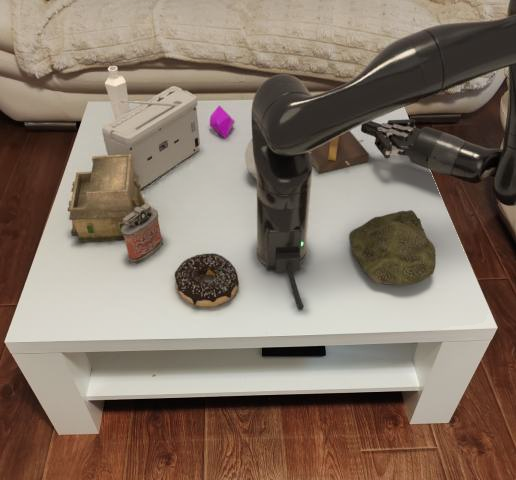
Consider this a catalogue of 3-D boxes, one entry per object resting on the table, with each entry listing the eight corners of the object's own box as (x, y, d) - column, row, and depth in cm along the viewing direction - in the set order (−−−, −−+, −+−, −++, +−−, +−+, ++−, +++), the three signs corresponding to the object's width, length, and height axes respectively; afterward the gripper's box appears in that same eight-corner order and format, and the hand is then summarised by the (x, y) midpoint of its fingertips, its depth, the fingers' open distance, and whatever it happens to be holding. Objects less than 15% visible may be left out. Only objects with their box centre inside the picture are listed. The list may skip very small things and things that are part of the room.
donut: (209, 255, 108) (208, 240, 105) (252, 288, 103) (251, 272, 100) (164, 285, 104) (161, 270, 101) (206, 320, 99) (204, 305, 95)
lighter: (155, 236, 112) (146, 195, 104) (167, 243, 110) (159, 202, 102) (124, 258, 108) (113, 217, 100) (137, 266, 107) (126, 225, 99)
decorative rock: (353, 299, 103) (355, 263, 95) (347, 236, 112) (348, 198, 104) (437, 294, 102) (446, 257, 94) (424, 231, 111) (431, 191, 102)
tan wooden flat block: (335, 160, 123) (339, 130, 117) (328, 159, 123) (331, 129, 117) (340, 134, 129) (344, 105, 123) (333, 134, 129) (337, 104, 123)
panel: (317, 180, 122) (318, 172, 120) (292, 144, 130) (292, 136, 128) (376, 166, 125) (378, 157, 123) (348, 132, 133) (349, 123, 131)
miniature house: (150, 194, 120) (141, 146, 110) (147, 239, 111) (137, 192, 102) (78, 198, 119) (63, 150, 110) (70, 244, 110) (53, 196, 101)
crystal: (207, 131, 133) (205, 113, 130) (221, 121, 136) (220, 103, 132) (224, 139, 131) (223, 121, 128) (238, 129, 134) (238, 111, 130)
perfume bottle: (113, 128, 134) (99, 65, 122) (131, 124, 136) (118, 61, 124) (119, 138, 132) (104, 75, 120) (137, 134, 133) (124, 71, 121)
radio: (179, 137, 132) (168, 50, 116) (205, 150, 129) (197, 62, 113) (112, 180, 122) (89, 92, 106) (138, 196, 119) (119, 107, 103)
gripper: (455, 119, 116) (379, 94, 122) (429, 151, 109) (350, 123, 115) (446, 151, 122) (374, 126, 128) (420, 183, 115) (345, 155, 121)
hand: (362, 125), depth 121 cm, fingers closed
